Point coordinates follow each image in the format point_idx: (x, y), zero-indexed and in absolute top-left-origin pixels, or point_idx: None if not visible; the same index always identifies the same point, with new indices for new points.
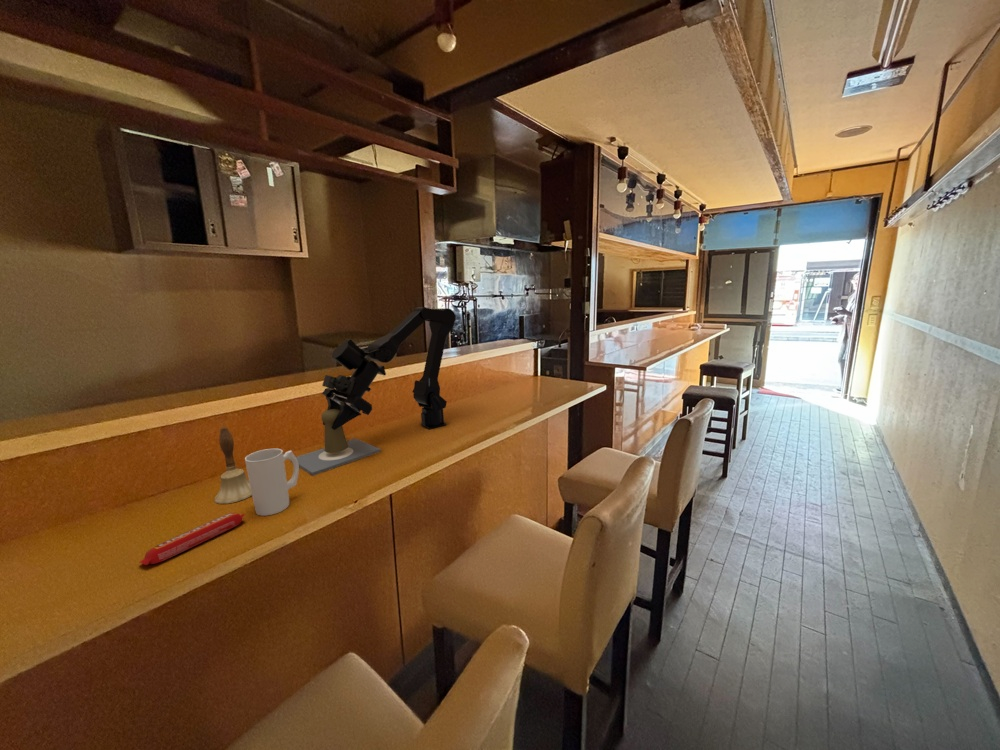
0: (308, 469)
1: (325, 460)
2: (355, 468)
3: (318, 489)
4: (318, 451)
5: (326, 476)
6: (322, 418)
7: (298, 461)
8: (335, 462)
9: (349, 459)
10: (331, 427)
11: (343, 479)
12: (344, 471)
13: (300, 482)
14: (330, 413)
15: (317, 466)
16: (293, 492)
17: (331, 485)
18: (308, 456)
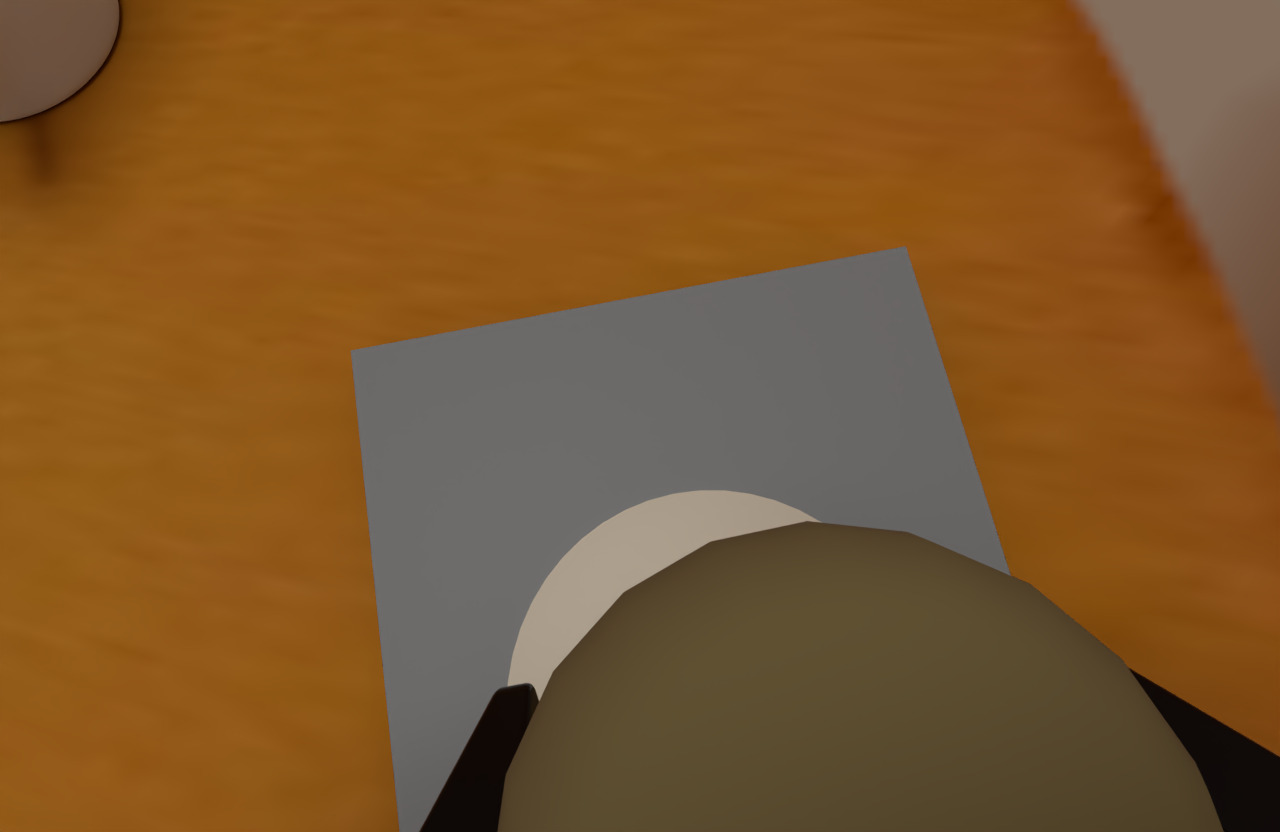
0: (465, 337)
1: (586, 534)
2: (195, 770)
3: (32, 340)
4: (946, 537)
5: (244, 460)
6: (765, 534)
7: (762, 298)
8: (438, 611)
9: (403, 780)
10: (510, 687)
11: (38, 576)
12: (217, 642)
13: (303, 250)
14: (579, 817)
15: (476, 425)
16: (152, 175)
17: (10, 449)
18: (849, 409)
